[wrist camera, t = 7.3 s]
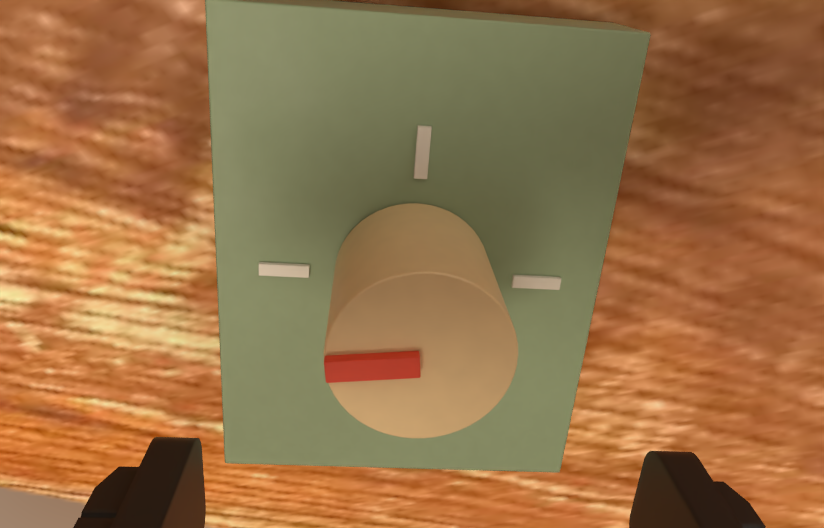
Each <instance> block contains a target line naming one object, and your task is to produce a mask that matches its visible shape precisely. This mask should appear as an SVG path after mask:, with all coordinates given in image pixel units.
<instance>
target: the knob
mask: <svg viewBox="0 0 824 528" xmlns="http://www.w3.org/2000/svg"><path fill="white" fill-rule="evenodd" d="M517 360H518V341H517V336H516V332H515V329H514V326H513V323H512V321H511V318H510V315H509V313H508V310H507V307H506V305H505V302H504V299H503V297H502V294H501V291H500V289H499V286H498V283H497V281H496V278H495V275H494V273H493V270H492V267H491V265H490V262H489V259H488V257H487V254H486V251H485V249H484V246H483V244H482V242H481V240H480V238H479V237H478V235H477V234H476V233H475V231H474V230H473V229H472V228H471V227H470V226H469V225H468V224H467V223H466V222H465V221H464V220H462V219H461V218H460V217H458V216H457V215H455V214H453V213H451V212H450V211H447V210H445V209H442V208H440V207H436V206H432V205H427V204H420V203H408V204H399V205H395V206H390V207H387V208H384V209H382V210H379V211H377V212H375V213H373V214H371V215H369V216H368V217H367V218H365V219H364V220H362V221H361V222H360V223H359V224H358V225H357V226H355V227H354V228H353V230H352V231H351V232H350V233H349V234H348V236H347V237H346V239H345V240H344V242H343V243H342V245H341V248H340V250H339V252H338V255H337V259H336V263H335V270H334V278H333V285H332V293H331V300H330V308H329V315H328V323H327V331H326V338H325V346H324V370H325V380H326V383H329V386H330V388H331V390H332V392H333V394H334V396H335V397H336V398H337V400H338V401H339V403H340V404H341V405H342V406H343V407H344V408H345V410H346V411H347V412H348V413H349V414H351V415H352V416H353V417H354V418H356V419H357V420H358V421H360V422H361V423H363V424H365V425H366V426H368V427H370V428H372V429H374V430H377V431H379V432H382V433H385V434H388V435H392V436H397V437H403V438H432V437H438V436H443V435H447V434H450V433H453V432H456V431H459V430H461V429H464V428H466V427H468V426H470V425H472V424H473V423H475V422H477V421H478V420H480V419H481V418H482V417H484V416H485V415H486V414H488V413H489V412H490V411H491V410H492V409H493V408H494V407H495V406H496V405H497V404H498V403H499V401H500V400H501V399H502V398H503V396H504V395H505V393H506V391H507V390H508V388H509V386H510V384H511V382H512V379H513V377H514V374H515V370H516V367H517Z"/></svg>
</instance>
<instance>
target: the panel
mask: <svg viewBox="0 0 824 528" xmlns="http://www.w3.org/2000/svg"><path fill="white" fill-rule="evenodd" d="M205 10H206V34H207V57H208V80H209V103H210V127H211V150H212V173H213V196H214V219H215V243H216V266H217V289H218V312H219V336H220V359H221V382H222V405H223V429H224V452H225V463H238V464H274V465H310V466H346V467H382V468H418V469H454V470H490V471H526V472H560V468H561V463H562V459H563V454H564V449H565V444H566V439H567V435H568V430H569V425H570V420H571V415H572V410H573V406H574V401H575V396H576V391H577V386H578V382H579V377H580V372H581V367H582V362H583V358H584V353H585V348H586V343H587V338H588V334H589V329H590V324H591V319H592V314H593V309H594V305H595V300H596V295H597V290H598V285H599V281H600V276H601V271H602V266H603V261H604V257H605V252H606V247H607V242H608V237H609V233H610V228H611V223H612V218H613V213H614V208H615V204H616V199H617V194H618V189H619V184H620V180H621V175H622V170H623V165H624V160H625V156H626V151H627V146H628V141H629V136H630V132H631V127H632V122H633V117H634V112H635V107H636V103H637V98H638V93H639V88H640V83H641V79H642V74H643V69H644V64H645V59H646V55H647V50H648V45H649V40H650V33H649V32H646V31H642V30H638V29H635V28H631V27H627V26H623V25H620V24H616V23H612V22H600V21H587V20H574V19H562V18H549V17H536V16H524V15H511V14H498V13H486V12H473V11H460V10H448V9H435V8H422V7H410V6H397V5H384V4H372V3H359V2H346V1H334V0H205ZM408 203H420V204H427V205H432V206H436V207H440V208H442V209H445V210H447V211H450V212H451V213H453V214H455V215H457V216H458V217H460V218H461V219H462V220H464V221H465V222H466V223H467V224H468V225H469V226H470V227H471V228H472V229H473V230H474V231H475V233H476V234H477V235H478V237H479V238H480V240H481V242H482V244H483V246H484V249H485V251H486V254H487V257H488V259H489V262H490V265H491V267H492V270H493V273H494V275H495V278H496V281H497V283H498V286H499V289H500V291H501V294H502V297H503V299H504V302H505V305H506V307H507V310H508V313H509V315H510V318H511V321H512V323H513V326H514V329H515V332H516V336H517V341H518V360H517V367H516V370H515V374H514V377H513V379H512V382H511V384H510V386H509V388H508V390H507V391H506V393H505V395H504V396H503V398H502V399H501V400H500V401H499V403H498V404H497V405H496V406H495V407H494V408H493V409H492V410H491V411H490V412H489V413H488V414H486V415H485V416H484V417H482V418H481V419H480V420H478V421H477V422H475V423H473V424H472V425H470V426H468V427H466V428H464V429H461V430H459V431H456V432H453V433H450V434H447V435H443V436H438V437H432V438H403V437H397V436H392V435H388V434H385V433H382V432H379V431H377V430H374V429H372V428H370V427H368V426H366V425H365V424H363V423H361V422H360V421H358V420H357V419H356V418H354V417H353V416H352V415H351V414H349V413H348V412H347V411H346V410H345V408H344V407H343V406H342V405H341V404H340V403H339V401H338V400H337V398H336V397H335V396H334V394H333V392H332V390H331V388H330V386H329V383H326V380H325V370H324V346H325V338H326V331H327V323H328V315H329V308H330V300H331V293H332V285H333V278H334V270H335V263H336V259H337V255H338V252H339V250H340V248H341V245H342V243H343V242H344V240H345V239H346V237H347V236H348V234H349V233H350V232H351V231H352V230H353V228H354V227H355V226H357V225H358V224H359V223H360V222H361V221H362V220H364V219H365V218H367V217H368V216H369V215H371V214H373V213H375V212H377V211H379V210H382V209H384V208H387V207H390V206H395V205H399V204H408Z"/></svg>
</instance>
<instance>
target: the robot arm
mask: <svg viewBox="0 0 824 528" xmlns="http://www.w3.org/2000/svg"><path fill="white" fill-rule="evenodd" d="M205 510H206V507H205V490H204V475H203V460H202V447H201V442H200V439H199V438H175V437H155V438H154V439H153V440H152V442H151V443H150V445H149V448H148V450H147V452H146V454H145V456H144V458H143V460H142V462H141V464H140V466H139V467H118V468H117V469H116V470H115V471H114V472H113V473H111V474H110V475H109V476H108V477H107V478H106V479H104V480H103V481H102V482H101V483H100V484H99V485H98V486H96V487H95V489H94V491H93V492H92V494H91V496H90V498H89V500H88V502H87V503H86V505H85V507H84V509H83V511H82V515H81V518H78V520H77V522H76V524H75V526H74V528H204V525H205ZM765 527H766V526H765V525H764V524H763V522H762V521H761V519H760V518H759V516H758V515H757V514H756V512H755V511H754V509H753V508H752V506H751V505H750V503H749V502H748V501H746V500H745V499H744V498H743V497H741V496H740V495H739V494H738V493H737V492H735V491H734V490H733V489H732V488H731V487H729V486H728V485H727V484H726V483H724V482H713V480H712V479H711V477H710V476H709V474H708V473H707V471H706V469H705V468H704V466H703V465H702V463H701V462H700V460H699V459H698V457H697V456H696V455H695V454H694V453H692V452H670V451H650V452H648V453H647V455H646V457H645V459H644V462H643V466H642V470H641V474H640V478H639V482H638V486H637V490H636V494H635V498H634V502H633V506H632V510H631V514H630V522H629V528H765Z"/></svg>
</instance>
